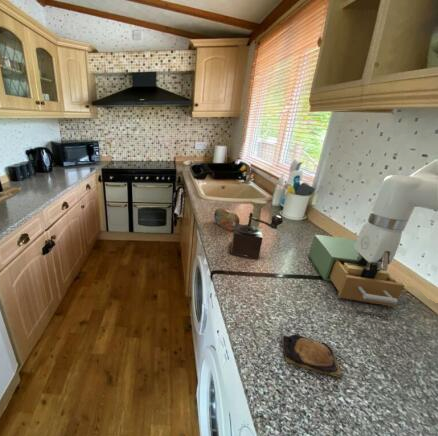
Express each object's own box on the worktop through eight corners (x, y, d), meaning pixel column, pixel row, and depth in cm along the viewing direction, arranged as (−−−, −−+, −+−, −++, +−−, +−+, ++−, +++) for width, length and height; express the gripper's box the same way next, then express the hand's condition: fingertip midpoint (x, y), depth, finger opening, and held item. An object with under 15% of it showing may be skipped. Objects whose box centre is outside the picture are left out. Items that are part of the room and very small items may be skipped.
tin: (213, 221, 125) (214, 206, 122) (217, 220, 126) (219, 205, 123) (233, 233, 113) (236, 216, 109) (239, 232, 114) (241, 215, 111)
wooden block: (345, 277, 73) (349, 267, 72) (340, 272, 76) (344, 262, 74) (384, 283, 71) (389, 273, 69) (378, 277, 73) (383, 267, 72)
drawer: (405, 319, 64) (417, 297, 61) (346, 308, 68) (355, 287, 65) (365, 274, 82) (373, 256, 79) (320, 268, 86) (326, 250, 83)
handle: (245, 228, 118) (250, 199, 112) (259, 230, 116) (265, 200, 110) (246, 232, 114) (251, 202, 108) (260, 234, 112) (267, 203, 106)
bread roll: (330, 347, 57) (335, 336, 56) (342, 381, 50) (348, 369, 48) (280, 334, 61) (283, 323, 59) (285, 363, 53) (289, 351, 52)
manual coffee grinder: (230, 255, 95) (237, 212, 88) (231, 242, 104) (237, 203, 97) (273, 263, 90) (285, 218, 83) (270, 249, 100) (280, 208, 92)
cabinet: (376, 288, 77) (387, 264, 74) (324, 280, 81) (332, 256, 77) (351, 260, 92) (360, 239, 88) (308, 255, 96) (314, 234, 92)
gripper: (355, 209, 74) (336, 260, 81) (388, 232, 59) (361, 292, 67) (385, 212, 72) (363, 264, 79) (426, 236, 58) (394, 297, 65)
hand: (362, 276), depth 73 cm, fingers closed on wooden block, 3 cm apart
